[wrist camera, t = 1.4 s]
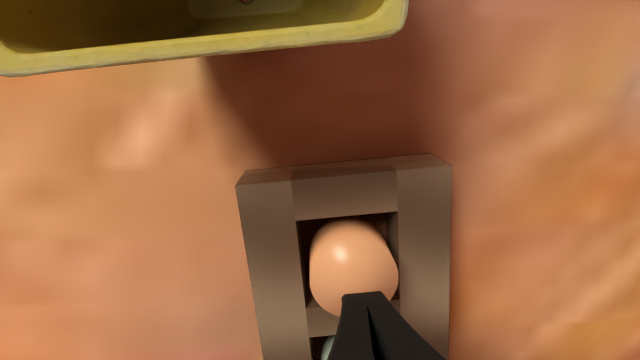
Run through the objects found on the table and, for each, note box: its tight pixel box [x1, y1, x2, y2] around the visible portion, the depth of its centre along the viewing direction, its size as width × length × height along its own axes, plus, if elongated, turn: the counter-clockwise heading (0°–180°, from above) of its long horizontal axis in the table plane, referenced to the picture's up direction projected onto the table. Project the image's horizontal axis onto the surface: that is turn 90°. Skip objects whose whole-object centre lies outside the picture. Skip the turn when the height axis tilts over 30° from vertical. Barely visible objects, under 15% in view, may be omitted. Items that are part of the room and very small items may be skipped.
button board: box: [235, 153, 452, 360], centre depth 18 cm, size 20×9×2 cm, turn 5°
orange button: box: [309, 216, 398, 317], centre depth 15 cm, size 4×4×2 cm
